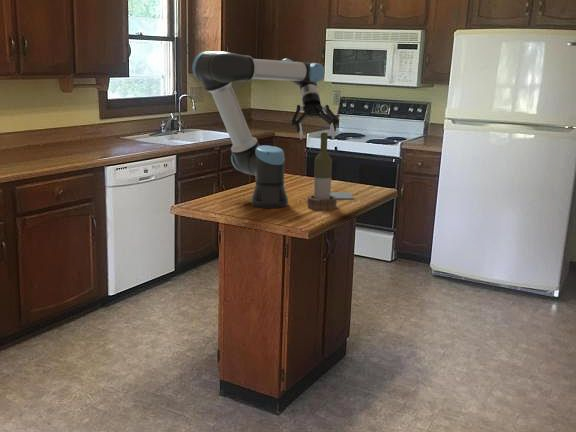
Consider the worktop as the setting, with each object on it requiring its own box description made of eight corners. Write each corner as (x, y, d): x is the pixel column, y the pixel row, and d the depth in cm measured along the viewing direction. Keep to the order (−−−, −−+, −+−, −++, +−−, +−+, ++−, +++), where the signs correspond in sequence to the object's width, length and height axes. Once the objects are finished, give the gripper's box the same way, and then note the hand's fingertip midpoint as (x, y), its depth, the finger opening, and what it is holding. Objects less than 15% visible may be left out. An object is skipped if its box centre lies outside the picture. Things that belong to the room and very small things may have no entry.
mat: (326, 199, 275) (326, 198, 274) (322, 193, 286) (322, 192, 286) (354, 199, 276) (354, 198, 275) (349, 193, 287) (349, 192, 287)
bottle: (333, 208, 259) (336, 134, 251) (316, 209, 256) (319, 134, 249) (326, 204, 265) (329, 132, 258) (310, 205, 263) (312, 132, 255)
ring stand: (309, 210, 255) (309, 200, 254) (306, 203, 266) (306, 194, 265) (337, 210, 256) (338, 200, 255) (333, 203, 267) (333, 194, 266)
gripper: (336, 103, 280) (345, 142, 270) (280, 103, 276) (286, 143, 265) (340, 92, 274) (349, 131, 264) (283, 91, 269) (289, 131, 259)
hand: (317, 137), depth 264 cm, fingers open, 13 cm apart
